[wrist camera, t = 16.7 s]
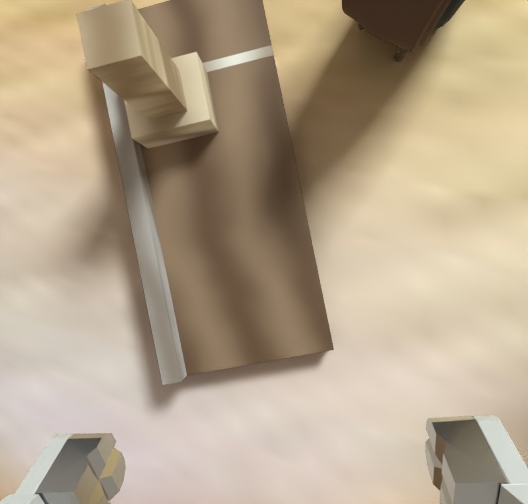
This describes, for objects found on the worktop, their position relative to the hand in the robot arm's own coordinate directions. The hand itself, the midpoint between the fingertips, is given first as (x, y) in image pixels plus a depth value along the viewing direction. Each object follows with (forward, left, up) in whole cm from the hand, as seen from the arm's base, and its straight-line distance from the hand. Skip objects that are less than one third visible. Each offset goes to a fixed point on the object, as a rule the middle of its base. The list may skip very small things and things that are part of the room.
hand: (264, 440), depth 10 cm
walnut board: (+4, -11, -22) cm, 25 cm away
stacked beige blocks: (+6, -18, -20) cm, 28 cm away
